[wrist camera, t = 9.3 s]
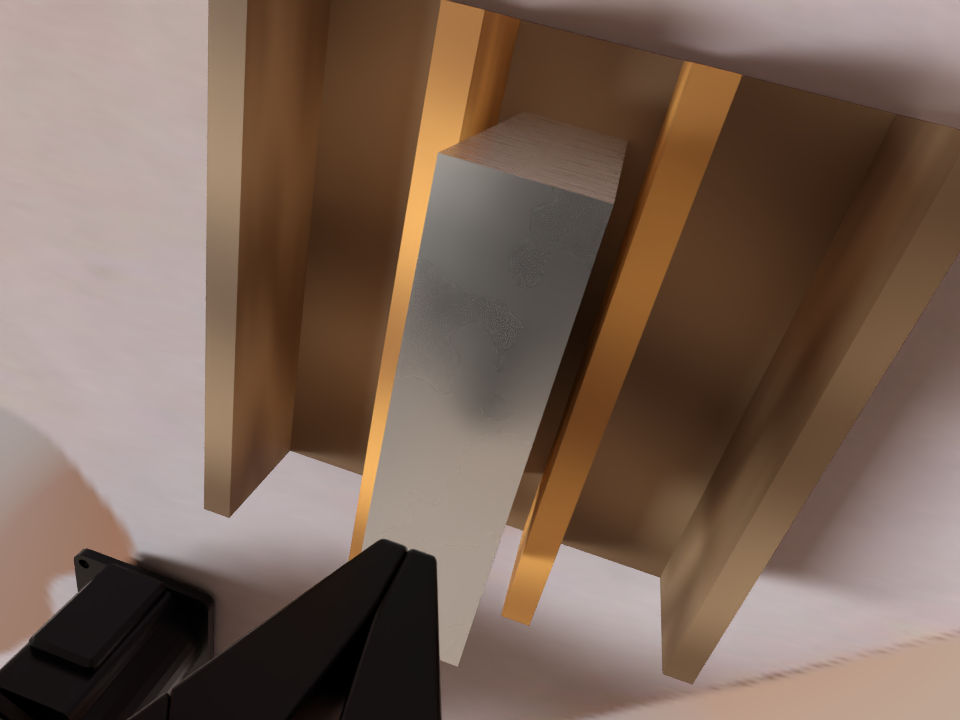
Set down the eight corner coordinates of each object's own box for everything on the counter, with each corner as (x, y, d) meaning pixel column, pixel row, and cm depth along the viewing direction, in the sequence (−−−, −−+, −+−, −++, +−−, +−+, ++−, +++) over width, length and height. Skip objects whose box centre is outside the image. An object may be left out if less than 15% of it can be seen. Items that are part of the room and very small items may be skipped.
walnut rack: (683, 563, 20) (692, 684, 17) (283, 427, 22) (204, 508, 18) (918, 119, 14) (1025, 146, 10) (321, -31, 15) (209, -60, 11)
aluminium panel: (517, 471, 19) (457, 666, 13) (441, 445, 19) (347, 625, 13) (628, 140, 14) (613, 203, 8) (524, 111, 15) (437, 152, 9)
